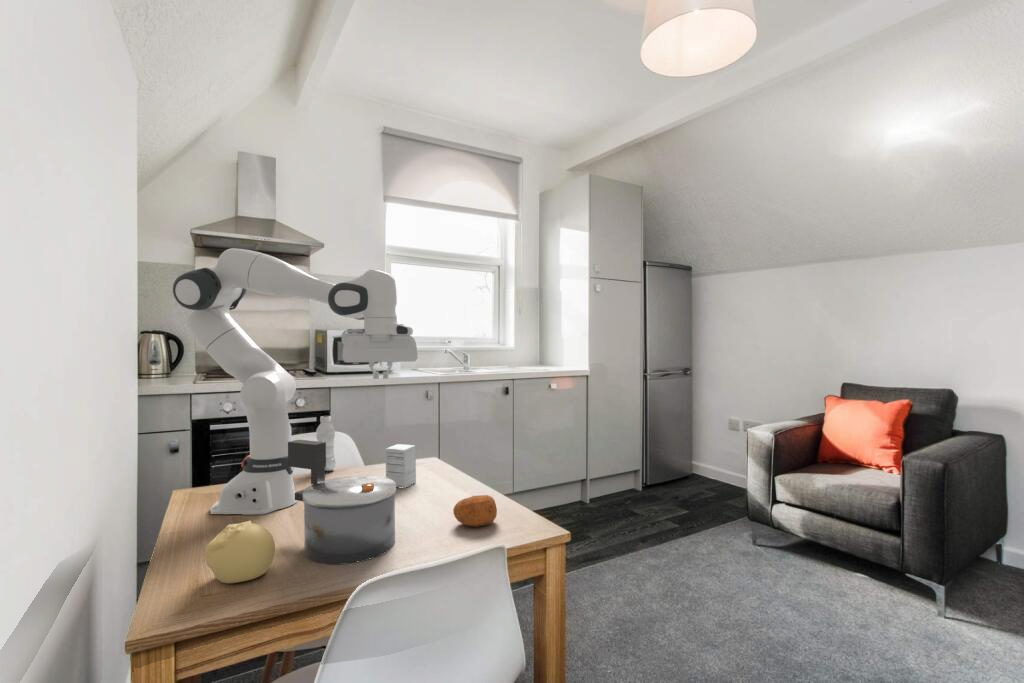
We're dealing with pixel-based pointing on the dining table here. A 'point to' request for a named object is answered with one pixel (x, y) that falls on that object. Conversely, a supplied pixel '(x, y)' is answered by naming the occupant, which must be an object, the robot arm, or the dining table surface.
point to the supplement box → (401, 464)
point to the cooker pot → (348, 531)
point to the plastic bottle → (327, 440)
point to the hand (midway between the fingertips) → (380, 378)
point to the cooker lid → (335, 480)
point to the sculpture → (240, 552)
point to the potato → (476, 510)
